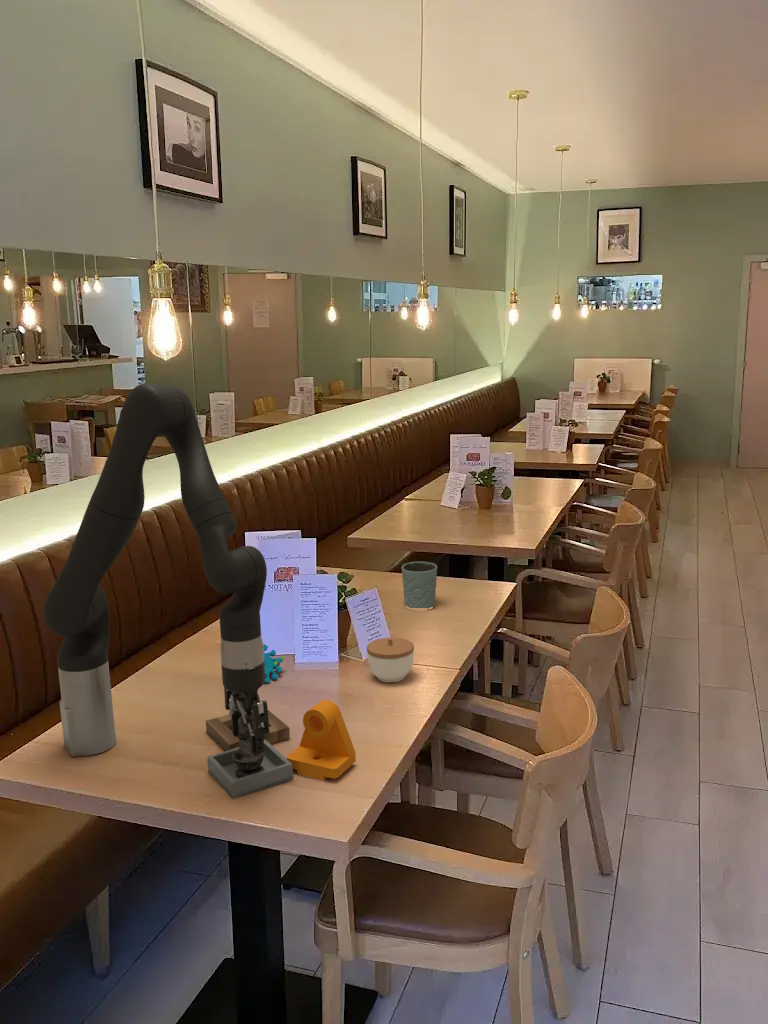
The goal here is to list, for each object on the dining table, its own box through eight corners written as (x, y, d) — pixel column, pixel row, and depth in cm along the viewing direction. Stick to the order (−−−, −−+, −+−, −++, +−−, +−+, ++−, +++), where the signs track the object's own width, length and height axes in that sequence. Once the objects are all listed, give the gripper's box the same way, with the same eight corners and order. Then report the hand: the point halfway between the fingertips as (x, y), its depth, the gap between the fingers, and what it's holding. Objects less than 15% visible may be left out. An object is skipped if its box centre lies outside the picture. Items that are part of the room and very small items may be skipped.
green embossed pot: (421, 599, 260) (420, 559, 257) (445, 606, 252) (444, 566, 250) (395, 606, 254) (394, 566, 251) (418, 615, 246) (417, 573, 243)
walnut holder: (230, 756, 169) (229, 744, 168) (206, 732, 179) (205, 720, 179) (289, 739, 175) (289, 727, 175) (263, 716, 186) (262, 705, 185)
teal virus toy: (249, 683, 199) (237, 644, 203) (240, 695, 202) (227, 656, 207) (292, 677, 205) (279, 639, 210) (282, 689, 209) (269, 651, 214)
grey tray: (232, 798, 154) (231, 783, 153) (208, 771, 164) (207, 756, 163) (293, 779, 160) (292, 764, 159) (266, 754, 169) (265, 739, 169)
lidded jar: (361, 684, 201) (359, 644, 199) (376, 666, 211) (375, 628, 209) (406, 689, 197) (405, 649, 195) (420, 671, 207) (419, 632, 205)
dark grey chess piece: (271, 765, 164) (267, 705, 161) (258, 781, 158) (253, 719, 155) (241, 762, 165) (237, 702, 163) (228, 778, 160) (223, 716, 157)
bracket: (285, 771, 163) (281, 710, 160) (306, 753, 169) (303, 695, 167) (336, 783, 158) (333, 721, 156) (355, 765, 164) (353, 704, 162)
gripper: (207, 652, 161) (213, 734, 164) (238, 677, 149) (244, 766, 153) (246, 643, 165) (251, 724, 168) (279, 667, 153) (284, 753, 156)
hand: (248, 744), depth 160 cm, fingers open, 8 cm apart
